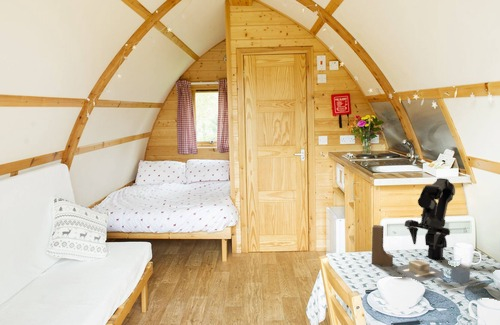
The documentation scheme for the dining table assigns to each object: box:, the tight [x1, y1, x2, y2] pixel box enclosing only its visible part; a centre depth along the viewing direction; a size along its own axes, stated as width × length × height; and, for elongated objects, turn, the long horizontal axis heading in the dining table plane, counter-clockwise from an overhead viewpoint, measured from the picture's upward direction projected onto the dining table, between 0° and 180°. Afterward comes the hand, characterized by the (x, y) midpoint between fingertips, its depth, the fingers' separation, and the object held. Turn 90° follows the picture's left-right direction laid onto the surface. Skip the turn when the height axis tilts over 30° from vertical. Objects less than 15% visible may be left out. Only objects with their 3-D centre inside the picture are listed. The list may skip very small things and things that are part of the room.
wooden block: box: [371, 224, 394, 267], centre depth 204 cm, size 9×4×18 cm, turn 65°
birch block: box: [408, 259, 431, 275], centre depth 194 cm, size 6×6×4 cm
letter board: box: [389, 263, 445, 283], centre depth 195 cm, size 18×18×1 cm
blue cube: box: [450, 266, 471, 284], centre depth 184 cm, size 5×5×5 cm
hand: (424, 246), depth 196 cm, fingers open, 9 cm apart
